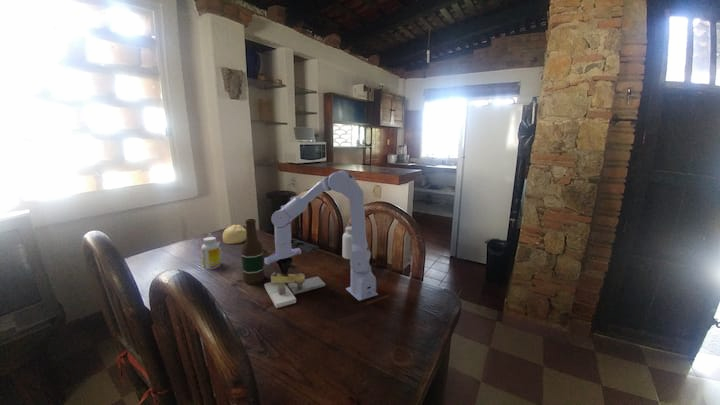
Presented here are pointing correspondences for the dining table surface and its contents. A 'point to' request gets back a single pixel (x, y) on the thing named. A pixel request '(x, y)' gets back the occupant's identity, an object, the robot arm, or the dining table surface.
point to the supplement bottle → (210, 253)
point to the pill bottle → (347, 243)
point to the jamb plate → (306, 285)
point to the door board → (281, 297)
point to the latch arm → (288, 278)
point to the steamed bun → (234, 234)
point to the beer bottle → (252, 255)
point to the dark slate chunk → (304, 245)
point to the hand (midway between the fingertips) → (284, 276)
